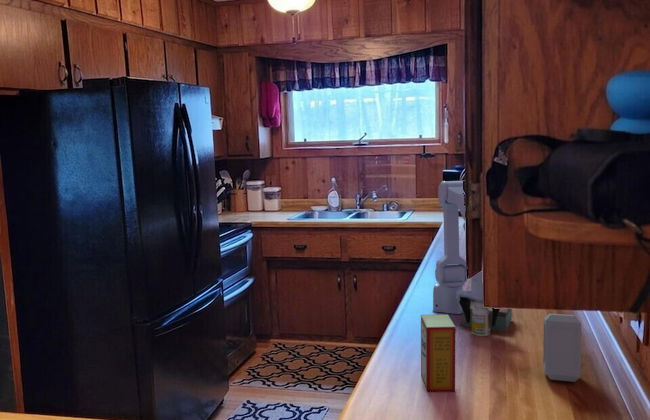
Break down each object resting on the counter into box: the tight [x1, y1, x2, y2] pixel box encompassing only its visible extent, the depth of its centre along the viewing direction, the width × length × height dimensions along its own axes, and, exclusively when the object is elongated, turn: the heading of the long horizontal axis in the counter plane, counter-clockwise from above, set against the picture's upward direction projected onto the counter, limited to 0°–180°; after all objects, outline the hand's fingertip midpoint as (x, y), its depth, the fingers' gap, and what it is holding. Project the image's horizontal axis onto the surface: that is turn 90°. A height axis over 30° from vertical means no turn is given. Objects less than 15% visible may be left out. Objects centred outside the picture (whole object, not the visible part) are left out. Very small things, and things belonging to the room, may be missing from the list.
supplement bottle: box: [471, 300, 491, 337], centre depth 174 cm, size 5×5×10 cm
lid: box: [462, 299, 510, 316], centre depth 183 cm, size 13×11×4 cm
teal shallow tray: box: [461, 308, 513, 332], centre depth 183 cm, size 13×11×4 cm
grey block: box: [542, 313, 582, 382], centre depth 152 cm, size 15×8×30 cm
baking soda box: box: [420, 313, 456, 393], centre depth 140 cm, size 10×6×16 cm
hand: (480, 323), depth 174 cm, fingers open, 7 cm apart
